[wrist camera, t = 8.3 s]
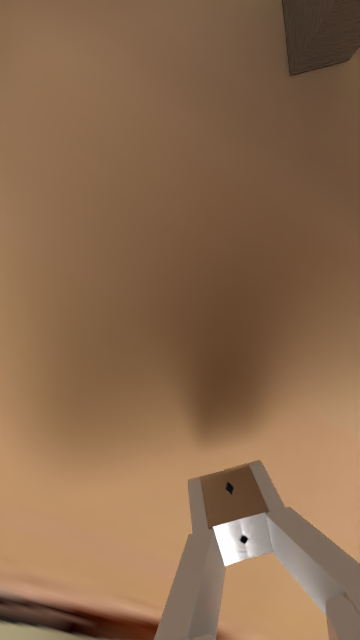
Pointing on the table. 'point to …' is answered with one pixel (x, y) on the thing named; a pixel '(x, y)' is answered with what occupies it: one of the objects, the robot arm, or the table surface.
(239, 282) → the table surface
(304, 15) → the bridge
